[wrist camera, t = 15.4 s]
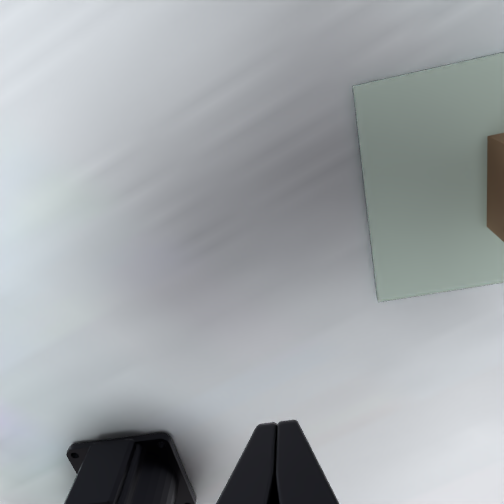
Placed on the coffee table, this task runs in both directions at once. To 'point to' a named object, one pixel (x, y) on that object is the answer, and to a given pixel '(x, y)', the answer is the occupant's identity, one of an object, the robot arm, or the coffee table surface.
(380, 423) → the coffee table surface
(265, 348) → the coffee table surface
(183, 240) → the coffee table surface
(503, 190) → the walnut block
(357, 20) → the coffee table surface
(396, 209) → the pale green flat panel
